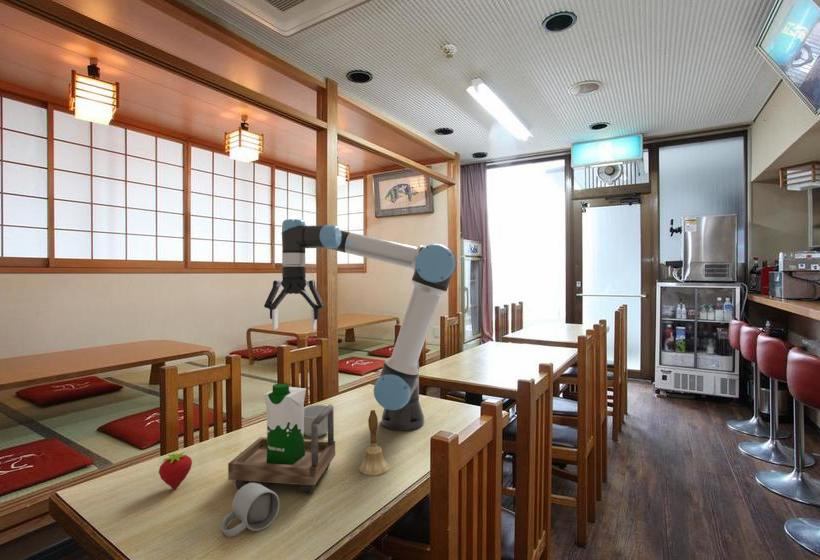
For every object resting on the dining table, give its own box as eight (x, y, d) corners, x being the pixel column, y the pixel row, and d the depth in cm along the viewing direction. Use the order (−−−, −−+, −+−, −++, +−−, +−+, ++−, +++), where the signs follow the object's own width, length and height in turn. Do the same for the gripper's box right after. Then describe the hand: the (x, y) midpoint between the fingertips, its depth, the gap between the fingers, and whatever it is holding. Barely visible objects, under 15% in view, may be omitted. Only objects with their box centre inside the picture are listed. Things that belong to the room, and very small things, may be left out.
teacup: (336, 428, 140) (336, 405, 140) (326, 441, 129) (326, 416, 129) (297, 426, 141) (297, 403, 141) (284, 439, 130) (284, 414, 130)
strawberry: (197, 484, 103) (197, 445, 103) (166, 498, 96) (166, 457, 96) (184, 478, 106) (184, 440, 106) (154, 491, 99) (153, 451, 99)
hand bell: (364, 478, 105) (364, 417, 105) (355, 465, 113) (354, 408, 113) (393, 471, 109) (393, 413, 109) (382, 459, 116) (382, 404, 116)
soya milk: (261, 464, 103) (260, 386, 102) (282, 449, 111) (281, 377, 111) (290, 469, 100) (290, 389, 100) (310, 453, 109) (309, 379, 108)
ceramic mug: (261, 506, 93) (260, 473, 93) (280, 520, 88) (279, 485, 87) (214, 528, 85) (213, 493, 85) (232, 546, 80) (230, 508, 80)
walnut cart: (336, 465, 112) (335, 402, 112) (315, 497, 96) (314, 423, 96) (260, 461, 115) (259, 399, 115) (228, 491, 99) (227, 419, 99)
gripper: (333, 266, 138) (333, 328, 138) (264, 266, 141) (264, 327, 141) (326, 265, 130) (326, 331, 131) (253, 266, 134) (253, 330, 134)
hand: (294, 329), depth 136 cm, fingers open, 13 cm apart
